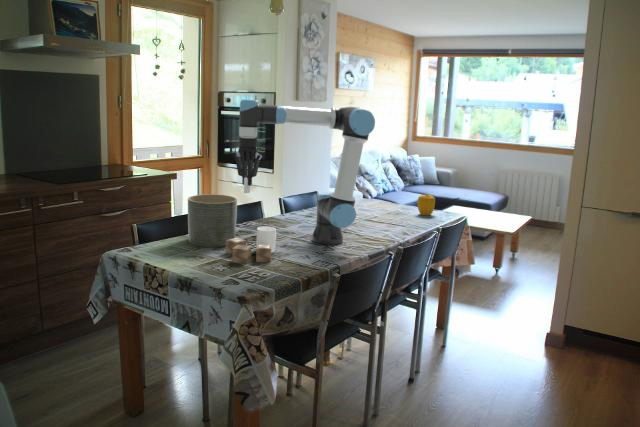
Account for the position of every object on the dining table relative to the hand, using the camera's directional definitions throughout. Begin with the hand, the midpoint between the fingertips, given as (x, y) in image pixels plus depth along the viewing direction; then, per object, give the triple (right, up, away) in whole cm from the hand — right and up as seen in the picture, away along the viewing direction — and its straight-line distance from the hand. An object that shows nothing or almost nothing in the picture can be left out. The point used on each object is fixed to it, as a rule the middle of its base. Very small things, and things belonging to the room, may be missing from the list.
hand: (246, 192), depth 234 cm
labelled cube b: (+8, -28, -4) cm, 30 cm away
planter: (-19, -22, +21) cm, 36 cm away
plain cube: (-1, -29, -7) cm, 30 cm away
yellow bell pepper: (+96, -10, +106) cm, 143 cm away
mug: (+8, -26, +10) cm, 29 cm away
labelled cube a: (-5, -26, +4) cm, 27 cm away
